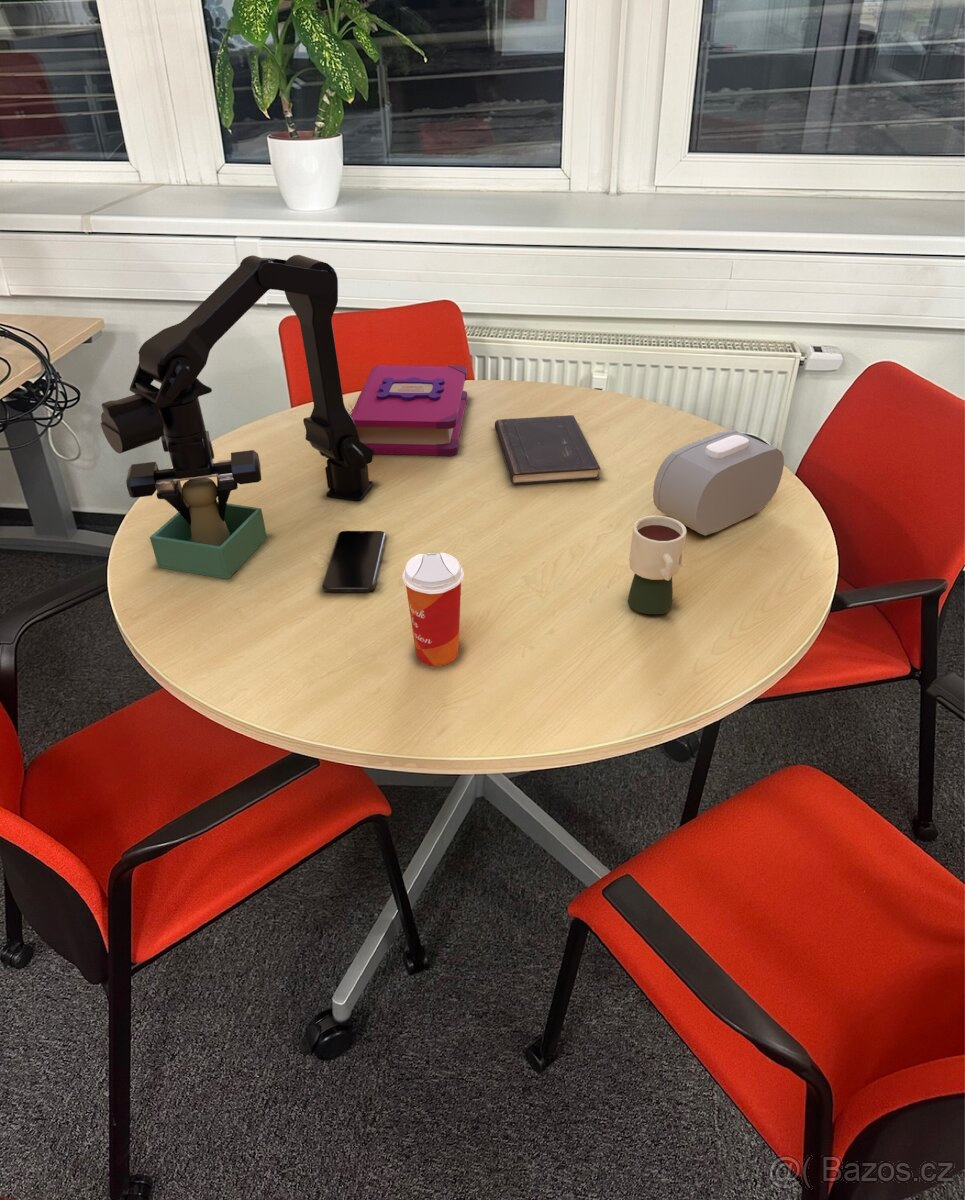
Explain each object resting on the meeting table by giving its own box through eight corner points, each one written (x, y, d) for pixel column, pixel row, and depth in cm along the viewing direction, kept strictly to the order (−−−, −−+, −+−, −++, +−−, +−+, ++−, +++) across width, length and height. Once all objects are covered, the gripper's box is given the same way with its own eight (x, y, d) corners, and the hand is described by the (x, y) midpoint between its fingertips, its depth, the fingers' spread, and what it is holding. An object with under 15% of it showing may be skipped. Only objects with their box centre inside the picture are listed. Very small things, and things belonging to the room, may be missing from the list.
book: (347, 454, 158) (342, 416, 153) (372, 395, 180) (369, 361, 176) (456, 456, 157) (455, 418, 152) (468, 397, 179) (467, 363, 175)
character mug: (686, 626, 115) (699, 547, 107) (636, 631, 114) (646, 552, 106) (660, 581, 123) (672, 506, 116) (614, 586, 123) (622, 510, 115)
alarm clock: (730, 486, 146) (744, 415, 138) (774, 508, 140) (791, 435, 132) (647, 522, 137) (656, 448, 129) (690, 547, 131) (703, 471, 123)
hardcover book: (573, 425, 167) (573, 414, 166) (599, 479, 149) (600, 468, 148) (494, 430, 166) (494, 419, 164) (511, 485, 147) (511, 473, 146)
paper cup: (408, 636, 114) (401, 551, 105) (464, 632, 114) (461, 547, 106) (409, 674, 107) (401, 586, 99) (468, 670, 108) (465, 583, 99)
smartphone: (374, 593, 122) (387, 534, 134) (374, 588, 121) (386, 530, 134) (321, 593, 122) (338, 534, 135) (320, 588, 121) (338, 529, 134)
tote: (267, 537, 134) (261, 508, 131) (228, 579, 125) (221, 548, 122) (200, 527, 137) (193, 498, 134) (158, 567, 128) (149, 537, 124)
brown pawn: (221, 556, 127) (206, 493, 121) (185, 551, 128) (168, 489, 122) (238, 535, 132) (225, 473, 125) (203, 531, 133) (188, 470, 126)
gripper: (249, 399, 126) (266, 489, 136) (121, 413, 123) (148, 504, 132) (251, 430, 118) (269, 524, 127) (113, 446, 114) (142, 541, 124)
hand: (207, 522), depth 128 cm, fingers closed on brown pawn, 4 cm apart
